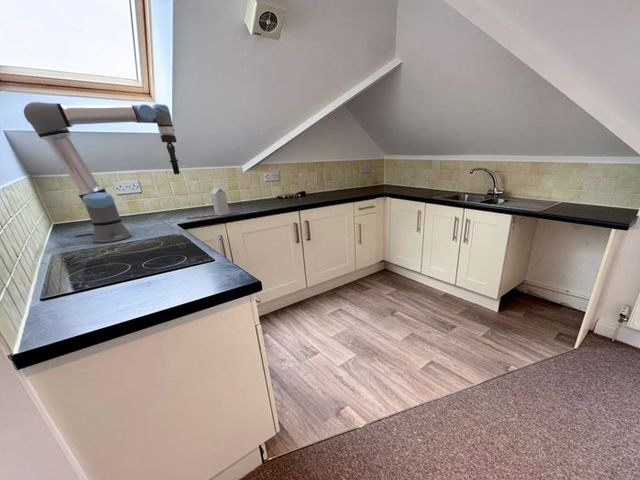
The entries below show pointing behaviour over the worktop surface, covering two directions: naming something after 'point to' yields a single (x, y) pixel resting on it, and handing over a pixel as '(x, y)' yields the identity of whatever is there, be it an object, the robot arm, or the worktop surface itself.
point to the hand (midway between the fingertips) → (177, 173)
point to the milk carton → (219, 201)
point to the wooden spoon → (200, 216)
